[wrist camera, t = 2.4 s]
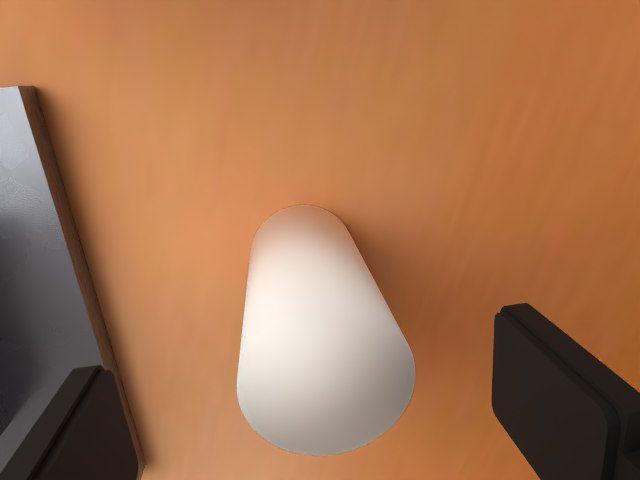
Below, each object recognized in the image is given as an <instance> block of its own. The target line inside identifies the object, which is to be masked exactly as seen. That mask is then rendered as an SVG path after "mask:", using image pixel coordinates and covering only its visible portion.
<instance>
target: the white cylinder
mask: <svg viewBox="0 0 640 480" xmlns="http://www.w3.org/2000/svg"><path fill="white" fill-rule="evenodd" d="M415 376H416V370H415V362H414V358H413V354H412V352H411V349H410V347H409V345H408V343H407V341H406V339H405V337H404V335H403V333H402V332H401V330H400V328H399V326H398V324H397V322H396V320H395V318H394V316H393V315H392V313H391V311H390V309H389V307H388V305H387V303H386V301H385V299H384V298H383V296H382V294H381V292H380V290H379V288H378V286H377V284H376V282H375V281H374V279H373V277H372V275H371V273H370V271H369V269H368V267H367V265H366V264H365V262H364V260H363V258H362V256H361V254H360V252H359V250H358V248H357V247H356V245H355V243H354V241H353V239H352V237H351V235H350V233H349V231H348V230H347V228H346V226H345V225H344V224H343V223H342V221H341V220H340V219H339V218H338V217H336V216H335V215H334V214H332V213H331V212H329V211H327V210H325V209H323V208H320V207H316V206H311V205H296V206H290V207H287V208H284V209H282V210H279V211H277V212H276V213H274V214H272V215H271V216H270V217H269V218H267V219H266V220H265V221H264V222H263V223H262V224H261V226H260V227H259V229H258V230H257V232H256V234H255V236H254V239H253V242H252V246H251V254H250V263H249V273H248V282H247V291H246V301H245V310H244V320H243V329H242V339H241V348H240V357H239V367H238V376H237V396H238V401H239V405H240V408H241V411H242V413H243V415H244V417H245V419H246V420H247V422H248V423H249V425H250V426H251V427H252V428H253V429H254V430H255V432H256V433H257V434H259V435H260V436H261V437H262V438H263V439H265V440H266V441H268V442H269V443H271V444H272V445H274V446H277V447H279V448H281V449H283V450H286V451H289V452H292V453H297V454H301V455H310V456H327V455H336V454H341V453H345V452H349V451H352V450H355V449H358V448H360V447H362V446H365V445H367V444H369V443H370V442H372V441H374V440H376V439H377V438H379V437H380V436H381V435H383V434H384V433H385V432H387V431H388V430H389V429H390V428H391V427H392V426H393V425H394V424H395V423H396V422H397V421H398V419H399V418H400V417H401V415H402V414H403V412H404V411H405V410H406V408H407V406H408V404H409V402H410V399H411V397H412V394H413V390H414V385H415Z"/></svg>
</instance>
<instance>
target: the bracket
mask: <svg viewBox="0 0 640 480" xmlns="http://www.w3.org/2000/svg"><path fill="white" fill-rule="evenodd" d="M94 365H102V366H103V367H104V369H105V370H111V371H112V373H113V375H114V379H115V382H116V386H117V389H118V393H119V396H120V399H121V403H122V406H123V410H124V413H125V417H126V420H127V424H128V427H129V431H130V434H131V438H132V441H133V445H134V448H135V452H136V455H137V459H138V475H137V479H136V480H141V477H142V474H143V471H144V468H145V465H146V463H145V459H144V456H143V453H142V449H141V446H140V442H139V439H138V436H137V432H136V429H135V426H134V422H133V419H132V415H131V412H130V409H129V405H128V402H127V399H126V395H125V392H124V388H123V385H122V382H121V378H120V375H119V371H118V368H117V365H116V361H115V358H114V355H113V351H112V348H111V344H110V341H109V338H108V334H107V331H106V328H105V324H104V321H103V317H102V314H101V311H100V307H99V304H98V301H97V297H96V294H95V290H94V287H93V284H92V280H91V277H90V274H89V270H88V267H87V263H86V260H85V257H84V253H83V250H82V247H81V243H80V240H79V236H78V233H77V230H76V226H75V223H74V219H73V216H72V213H71V209H70V206H69V203H68V199H67V196H66V192H65V189H64V186H63V182H62V179H61V176H60V172H59V169H58V165H57V162H56V159H55V155H54V152H53V149H52V145H51V142H50V138H49V135H48V132H47V128H46V125H45V122H44V118H43V115H42V111H41V108H40V105H39V101H38V98H37V95H36V91H35V88H34V86H15V87H5V88H0V473H1V472H2V470H3V469H4V467H5V466H6V464H7V463H8V461H9V460H10V459H11V457H12V456H13V454H14V453H15V451H16V450H17V449H18V447H19V446H20V444H21V443H22V441H23V440H24V438H25V437H26V436H27V434H28V433H29V431H30V430H31V428H32V427H33V426H34V424H35V423H36V421H37V420H38V418H39V417H40V415H41V414H42V413H43V411H44V410H45V408H46V407H47V405H48V404H49V402H50V401H51V400H52V398H53V397H54V395H55V394H56V392H57V391H58V390H59V388H60V387H61V385H62V384H63V382H64V381H65V379H66V378H67V377H68V375H69V374H70V372H71V371H72V370H73V369H75V368H80V367H87V366H94Z"/></svg>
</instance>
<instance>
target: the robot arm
mask: <svg viewBox="0 0 640 480" xmlns="http://www.w3.org/2000/svg"><path fill="white" fill-rule="evenodd" d="M492 407H493V411H494V413H495V416H496V417H497V419H498V420H499V422H500V423H501V425H502V426H503V427H504V429H505V430H506V432H507V433H508V434H509V436H510V437H511V439H512V440H513V441H514V443H515V444H516V446H517V447H518V448H519V450H520V451H521V453H522V454H523V455H524V457H525V458H526V460H527V461H528V462H529V464H530V465H531V467H532V468H533V469H534V471H535V472H536V474H537V475H538V476H539V478H540V479H541V480H640V393H639V392H638V391H637V390H635V389H634V388H633V387H632V386H630V385H629V384H628V383H627V382H625V381H624V380H623V379H622V378H620V377H619V376H618V375H617V374H615V373H614V372H613V371H612V370H610V369H609V368H608V367H607V366H605V365H604V364H603V363H602V362H600V361H599V360H598V359H597V358H595V357H594V356H593V355H592V354H590V353H589V352H588V351H587V350H586V349H584V348H583V347H582V346H581V345H579V344H578V343H577V342H576V341H574V340H573V339H572V338H571V337H569V336H568V335H567V334H566V333H564V332H563V331H562V330H561V329H559V328H558V327H557V326H556V325H554V324H553V323H552V322H551V321H549V320H548V319H547V318H546V317H544V316H543V315H542V314H541V313H539V312H538V311H537V310H536V309H534V308H533V307H532V306H531V305H529V304H527V303H522V304H515V305H508V306H503V307H502V309H501V311H500V313H497V314H496V315H495V321H494V349H493V378H492ZM137 475H138V459H137V455H136V452H135V448H134V445H133V441H132V438H131V434H130V431H129V427H128V424H127V420H126V417H125V413H124V410H123V406H122V403H121V399H120V396H119V393H118V389H117V386H116V382H115V379H114V375H113V373H112V371H111V370H105V369H104V367H103V366H102V365H94V366H87V367H80V368H75V369H73V370H72V371H71V372H70V374H69V375H68V377H67V378H66V379H65V381H64V382H63V384H62V385H61V387H60V388H59V390H58V391H57V392H56V394H55V395H54V397H53V398H52V400H51V401H50V402H49V404H48V405H47V407H46V408H45V410H44V411H43V413H42V414H41V415H40V417H39V418H38V420H37V421H36V423H35V424H34V426H33V427H32V428H31V430H30V431H29V433H28V434H27V436H26V437H25V438H24V440H23V441H22V443H21V444H20V446H19V447H18V449H17V450H16V451H15V453H14V454H13V456H12V457H11V459H10V460H9V461H8V463H7V464H6V466H5V467H4V469H3V470H2V472H1V473H0V480H136V479H137Z"/></svg>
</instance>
